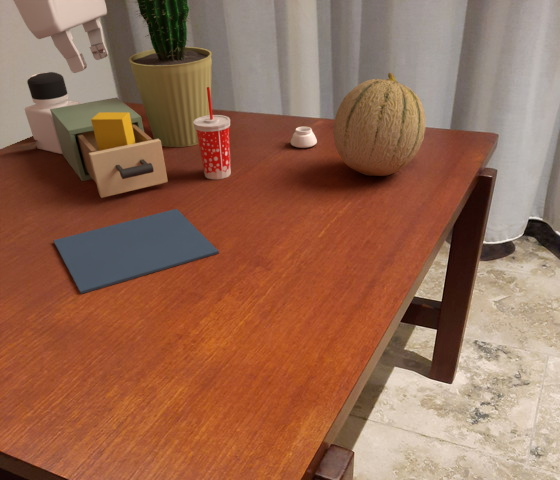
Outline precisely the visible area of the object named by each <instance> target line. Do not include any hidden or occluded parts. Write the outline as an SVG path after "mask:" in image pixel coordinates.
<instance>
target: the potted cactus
mask: <svg viewBox="0 0 560 480" xmlns="http://www.w3.org/2000/svg"><path fill="white" fill-rule="evenodd" d="M133 3H134V4H135V6H138V10H135V13H136V14H135V16H136V15H137V16H136V18H138V17H139V19H141V18H143V20H142V23H145V25H144V26H143V25H142V26H143V27H146V28H147V29H148V33H147V35H145V36H144V38H147V39H150V43H151V45H152V49H148V50H143V51H139V52H137V53H135V54H132V55H131V56H129V58H128V62H129V64H130V68H131V71H132V74H133V77H134V81H135V84H136V87H137V90H138V93H139V96H140V99H141V102H142V105H143V108H144V111H145V114H146V117H147V122H148V124H149V127H150V130H151V133H152V136H153V140H154V139H159V140H160V141H161V145H162V147H167V148H186V147H193V146H196V145H199V142H198V137H197V132H196V129H195V128H194V123H193V121H194V120H195V119H197V118H199V117H203V116H209V115H210V113H209V104H208V95H207V87H210V96H211V97H212V68H213V67H212V66H213V63H212V62H213V61H212V55H213V52H212V51H211V50H209V49H206V48H201V47H195V46H194V47H193V46H187V45H188V43H187V42H189V43H191V41H189V40H188V34H191V32H190V31H188V28H187V26H188V25H187V22H188V24H191V22H190V21H189V20H191V19H192V18H191V17H192V16H190V14H189V11H191V7H193V6H189V5H188V0H136V1H133ZM138 11H139V13H137V12H138Z"/></svg>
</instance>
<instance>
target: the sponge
mask: <svg viewBox="0 0 560 480" xmlns="http://www.w3.org/2000/svg"><path fill="white" fill-rule="evenodd" d="M91 121H92V125H93V129H94V133H95V137H96V141H97V146H98V150H99V151H101V150H106V149H111V148H116V147H121V146H125V145H130V144H135V138H134V133H133V128H132V123H131V118H130V113H129V112H99V113H98V114H97V115H96V116H94V117H93V118H92V119H91Z"/></svg>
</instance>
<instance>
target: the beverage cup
mask: <svg viewBox="0 0 560 480" xmlns="http://www.w3.org/2000/svg"><path fill="white" fill-rule="evenodd" d="M207 95H208V104H209V113H210V115H209V116H203V117H199V118H197V119H195V120H194V121H193V123H194V128H195V129H196V132H197V137H198V142H199V144H198V146H199V152H200V157H201V163H202V168H203V174H204V177H205V178H207V179H208V180H223V179H226V178H229V177H230V176H231V174H232V172H231V171H232V169H231V168H232V167H231V139H230V126H231V119H230V117H229V116H227V115H222V114H214V113H213V107H212V95H211V96H210V87H207Z"/></svg>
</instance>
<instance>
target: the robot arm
mask: <svg viewBox="0 0 560 480" xmlns="http://www.w3.org/2000/svg"><path fill="white" fill-rule="evenodd" d="M13 2H14V5H15V6H16V8H17V11H18V12H19V14H20V16H21V18H22V20H23V22H24V24H25V26H26V27H27V29H28V30H29V31H30V33H31V34H32V35H33V36H34V37H35V38H36V39H37V40H42V39H45V38H48V37H51V40H52V42H53V45H54V47H55V48H56V49H57V51H58V52H59V53H60V55H62V57H63V58H64V59H65V60H66V63H67V65H68V67H69V70H70V71H71V73H74V74H76V73H80V72H83V71H84V70H86V69H87V66H88V64H87V62H86V60H85V57H84V55H83V53H80V51H79V50H78V48H77V47H76V45H75V43H74V41H73V40H74V37H73V34H72V32H71V29H73V28H76V27H78V26H80V25H82V27H83V29H84V32H85V33H87V37H88V40H89V43H90V46H89V49H90V51H91V54H92V57H93V59H94V60H96V61H100V60H102V59H105V58H107V57H108V56H109V51H108V49H107V47H106V44H105V39H104V38H105V37H104V32H103V27H102V24H101V22H100V18H102V17H104V16H107V14H108V9H107V3H106V0H13Z"/></svg>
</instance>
